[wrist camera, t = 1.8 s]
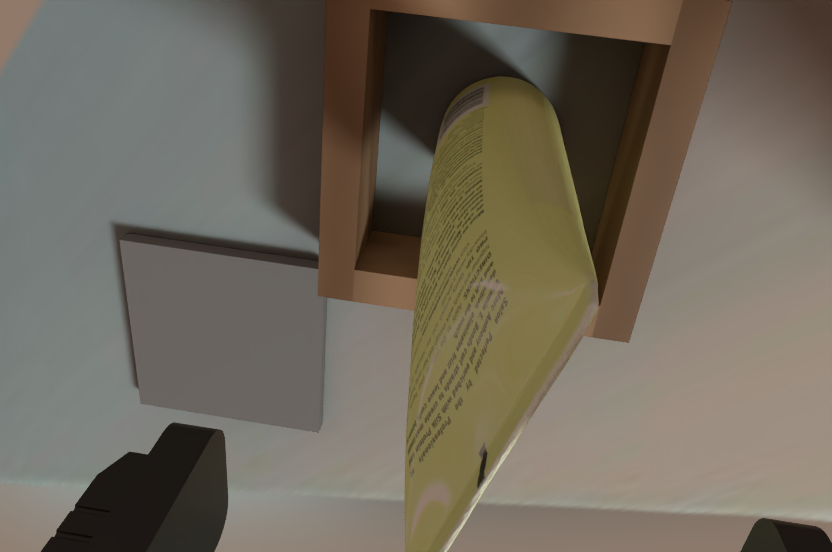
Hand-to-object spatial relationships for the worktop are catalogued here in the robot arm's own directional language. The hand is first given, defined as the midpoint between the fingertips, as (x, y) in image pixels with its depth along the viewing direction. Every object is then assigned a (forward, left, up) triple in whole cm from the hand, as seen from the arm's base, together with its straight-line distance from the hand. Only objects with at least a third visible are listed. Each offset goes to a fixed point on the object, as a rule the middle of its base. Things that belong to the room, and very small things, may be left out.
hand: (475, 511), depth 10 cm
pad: (+12, +12, -20) cm, 26 cm away
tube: (0, 0, -20) cm, 20 cm away
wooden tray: (0, 0, -20) cm, 20 cm away
